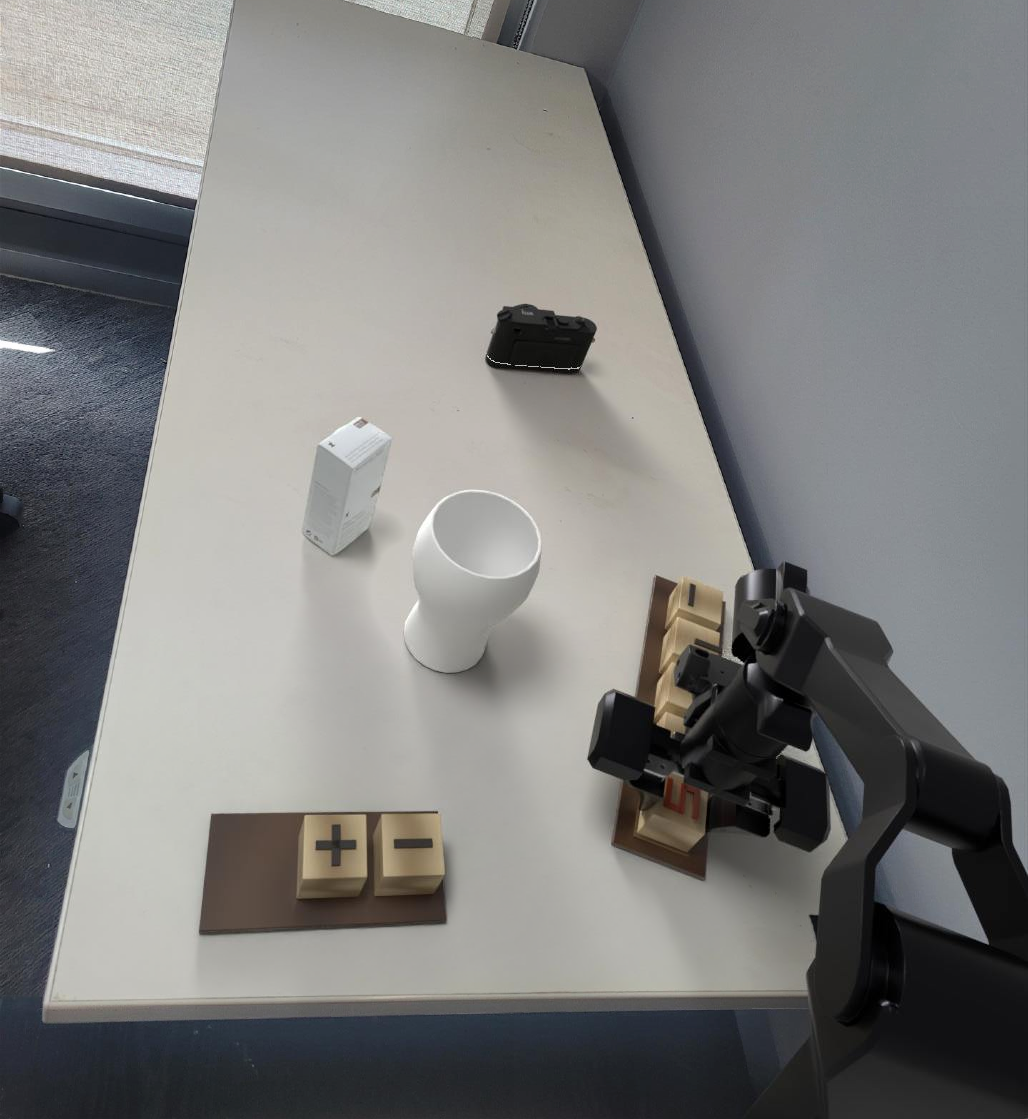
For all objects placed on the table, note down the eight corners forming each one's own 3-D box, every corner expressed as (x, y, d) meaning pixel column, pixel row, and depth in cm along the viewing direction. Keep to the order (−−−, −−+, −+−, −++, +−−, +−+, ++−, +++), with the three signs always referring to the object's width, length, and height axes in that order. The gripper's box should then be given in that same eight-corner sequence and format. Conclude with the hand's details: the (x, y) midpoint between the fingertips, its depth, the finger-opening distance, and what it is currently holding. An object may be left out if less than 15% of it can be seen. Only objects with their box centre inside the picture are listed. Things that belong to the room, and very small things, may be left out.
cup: (462, 576, 90) (503, 471, 80) (521, 662, 84) (573, 561, 74) (367, 610, 83) (399, 502, 74) (424, 705, 78) (466, 602, 68)
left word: (436, 813, 72) (449, 788, 69) (444, 922, 66) (459, 900, 63) (210, 816, 67) (214, 788, 64) (198, 934, 61) (202, 909, 58)
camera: (572, 343, 124) (591, 295, 119) (586, 378, 119) (607, 330, 114) (472, 334, 119) (488, 285, 114) (483, 370, 114) (500, 320, 109)
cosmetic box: (333, 558, 87) (354, 472, 79) (297, 532, 88) (314, 444, 80) (373, 524, 91) (397, 438, 83) (339, 499, 92) (359, 413, 84)
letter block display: (702, 880, 74) (725, 858, 71) (610, 845, 74) (630, 821, 71) (723, 605, 97) (741, 580, 94) (653, 577, 97) (669, 551, 94)
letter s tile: (691, 803, 78) (710, 783, 75) (686, 852, 74) (706, 832, 72) (643, 785, 78) (660, 763, 75) (636, 833, 74) (654, 812, 72)
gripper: (865, 676, 72) (773, 770, 82) (644, 591, 72) (580, 695, 82) (875, 806, 63) (771, 892, 73) (624, 708, 63) (555, 808, 73)
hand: (667, 815), depth 75 cm, fingers closed on letter s tile, 4 cm apart
